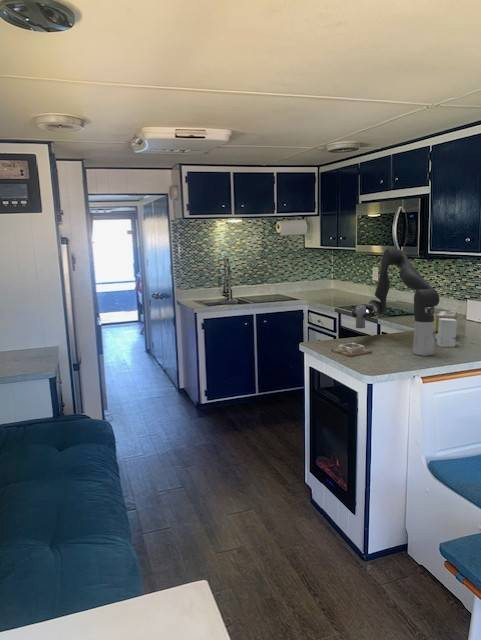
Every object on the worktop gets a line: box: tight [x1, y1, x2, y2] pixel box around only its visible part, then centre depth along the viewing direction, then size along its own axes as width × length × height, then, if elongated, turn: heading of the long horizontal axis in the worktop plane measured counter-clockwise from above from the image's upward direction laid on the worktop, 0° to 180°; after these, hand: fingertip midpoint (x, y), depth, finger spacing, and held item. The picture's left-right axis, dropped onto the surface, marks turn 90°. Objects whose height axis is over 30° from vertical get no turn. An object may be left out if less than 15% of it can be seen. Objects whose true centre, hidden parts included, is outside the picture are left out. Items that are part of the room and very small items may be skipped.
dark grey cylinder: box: [355, 304, 366, 329], centre depth 259 cm, size 5×5×12 cm
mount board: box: [330, 342, 373, 358], centre depth 251 cm, size 15×15×4 cm
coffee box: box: [425, 307, 435, 317], centre depth 290 cm, size 9×6×16 cm
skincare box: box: [436, 318, 458, 348], centre depth 259 cm, size 8×6×15 cm
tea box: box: [435, 310, 458, 341], centre depth 277 cm, size 15×10×15 cm, turn 150°
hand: (359, 315), depth 257 cm, fingers closed on dark grey cylinder, 5 cm apart
